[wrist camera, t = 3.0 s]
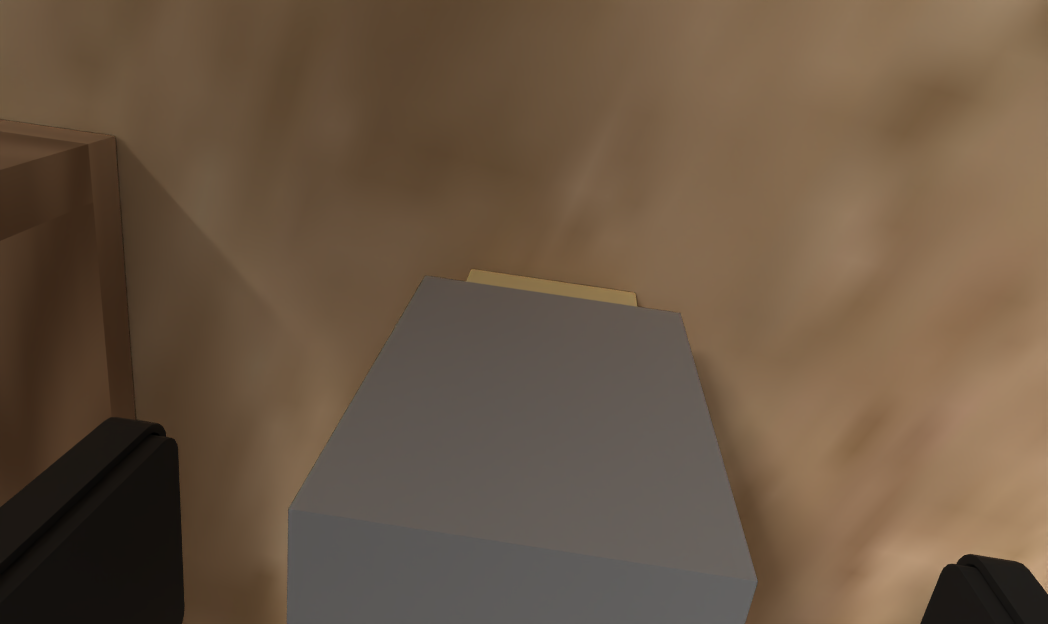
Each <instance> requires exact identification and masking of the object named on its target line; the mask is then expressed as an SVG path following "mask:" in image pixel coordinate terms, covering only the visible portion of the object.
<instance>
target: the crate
mask: <svg viewBox="0 0 1048 624" xmlns="http://www.w3.org/2000/svg"><path fill="white" fill-rule="evenodd" d="M110 417H120V418H126V419H133V420H136V418H135V404H134V390H133V377H132V363H131V349H130V335H129V321H128V308H127V294H126V280H125V266H124V252H123V239H122V225H121V211H120V197H119V183H118V170H117V156H116V142H115V136H111V135H104V134H97V133H90V132H83V131H76V130H70V129H63V128H56V127H49V126H42V125H35V124H28V123H21V122H14V121H7V120H0V507H1V506H2V505H4V504H5V503H6V502H7V501H8V500H10V499H11V498H12V497H13V496H14V495H16V494H17V493H18V492H19V491H20V490H22V489H23V488H24V487H25V486H26V485H28V484H29V483H30V482H31V481H32V480H34V479H35V478H36V477H37V476H39V475H40V474H41V473H42V472H43V471H45V470H46V469H47V468H48V467H49V466H51V465H52V464H53V463H54V462H55V461H57V460H58V459H59V458H60V457H61V456H63V455H64V454H65V453H66V452H67V451H69V450H70V449H71V448H72V447H73V446H75V445H76V444H77V443H78V442H79V441H81V440H82V439H83V438H84V437H86V436H87V435H88V434H89V433H90V432H92V431H93V430H94V429H95V428H96V427H98V426H99V425H100V424H101V423H102V422H104V421H105V420H107V419H109V418H110Z"/></svg>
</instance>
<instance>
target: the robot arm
mask: <svg viewBox="0 0 1048 624" xmlns="http://www.w3.org/2000/svg"><path fill="white" fill-rule="evenodd" d="M183 617H184V584H183V559H182V534H181V509H180V485H179V460H178V446H177V443H176V441H175V440H174V439H173V438H169V437H166V432H165V430H164V428H163V426H161V425H160V424H158V423H151V422H145V421H139V420H133V419H126V418H120V417H110V418H109V419H107V420H105V421H104V422H102V423H101V424H100V425H99V426H98V427H96V428H95V429H94V430H93V431H92V432H90V433H89V434H88V435H87V436H86V437H84V438H83V439H82V440H81V441H79V442H78V443H77V444H76V445H75V446H73V447H72V448H71V449H70V450H69V451H67V452H66V453H65V454H64V455H63V456H61V457H60V458H59V459H58V460H57V461H55V462H54V463H53V464H52V465H51V466H49V467H48V468H47V469H46V470H45V471H43V472H42V473H41V474H40V475H39V476H37V477H36V478H35V479H34V480H32V481H31V482H30V483H29V484H28V485H26V486H25V487H24V488H23V489H22V490H20V491H19V492H18V493H17V494H16V495H14V496H13V497H12V498H11V499H10V500H8V501H7V502H6V503H5V504H4V505H2V506H1V507H0V624H182V622H183ZM920 624H1048V594H1047V593H1046V591H1045V590H1044V589H1043V587H1042V586H1041V585H1040V584H1039V582H1038V581H1037V580H1036V578H1035V577H1034V576H1033V574H1032V573H1031V572H1030V571H1029V569H1027V568H1026V567H1025V566H1024V565H1023V564H1022V563H1019V562H1016V561H1010V560H1004V559H998V558H991V557H985V556H979V555H973V554H968V555H964V556H963V557H962V558H960V559H959V560H958V562H957V564H948V565H947V566H946V567H944V569H943V570H942V572H941V574H940V576H939V579H938V581H937V584H936V586H935V589H934V591H933V594H932V596H931V599H930V601H929V604H928V606H927V609H926V611H925V613H924V616H923V618H922V621H921V623H920Z"/></svg>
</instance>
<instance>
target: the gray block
mask: <svg viewBox="0 0 1048 624" xmlns="http://www.w3.org/2000/svg"><path fill="white" fill-rule="evenodd" d="M757 582H758V580H757V577H756V573H755V570H754V566H753V563H752V559H751V556H750V553H749V549H748V546H747V542H746V539H745V535H744V532H743V528H742V525H741V521H740V518H739V514H738V511H737V508H736V504H735V501H734V497H733V494H732V490H731V487H730V483H729V480H728V476H727V473H726V469H725V466H724V463H723V459H722V456H721V452H720V449H719V445H718V442H717V438H716V435H715V431H714V428H713V424H712V421H711V418H710V414H709V411H708V407H707V404H706V400H705V397H704V393H703V390H702V386H701V383H700V379H699V376H698V373H697V369H696V366H695V362H694V359H693V355H692V352H691V348H690V345H689V341H688V338H687V334H686V331H685V328H684V324H683V321H682V317H681V314H680V313H677V312H670V311H664V310H657V309H650V308H643V307H637V301H636V294H635V293H633V292H626V291H619V290H613V289H606V288H599V287H592V286H585V285H578V284H572V283H565V282H558V281H551V280H544V279H537V278H531V277H524V276H517V275H510V274H503V273H497V272H490V271H483V270H476V269H471V271H470V273H469V276H468V278H467V280H466V281H459V280H453V279H446V278H439V277H432V276H425V277H424V278H423V280H422V282H421V283H420V285H419V287H418V289H417V290H416V292H415V294H414V295H413V297H412V299H411V301H410V302H409V304H408V306H407V307H406V309H405V311H404V312H403V314H402V316H401V318H400V319H399V321H398V323H397V324H396V326H395V328H394V330H393V331H392V333H391V335H390V336H389V338H388V340H387V341H386V343H385V345H384V347H383V348H382V350H381V352H380V353H379V355H378V357H377V359H376V360H375V362H374V364H373V365H372V367H371V369H370V371H369V372H368V374H367V376H366V377H365V379H364V381H363V382H362V384H361V386H360V388H359V389H358V391H357V393H356V394H355V396H354V398H353V400H352V401H351V403H350V405H349V406H348V408H347V410H346V411H345V413H344V415H343V417H342V418H341V420H340V422H339V423H338V425H337V427H336V429H335V430H334V432H333V434H332V435H331V437H330V439H329V441H328V442H327V444H326V446H325V447H324V449H323V451H322V452H321V454H320V456H319V458H318V459H317V461H316V463H315V464H314V466H313V468H312V470H311V471H310V473H309V475H308V476H307V478H306V480H305V481H304V483H303V485H302V487H301V488H300V490H299V492H298V493H297V495H296V497H295V499H294V500H293V502H292V504H291V505H290V507H289V509H288V575H287V624H745V622H746V618H747V615H748V612H749V609H750V605H751V602H752V599H753V596H754V592H755V589H756V586H757Z"/></svg>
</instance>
